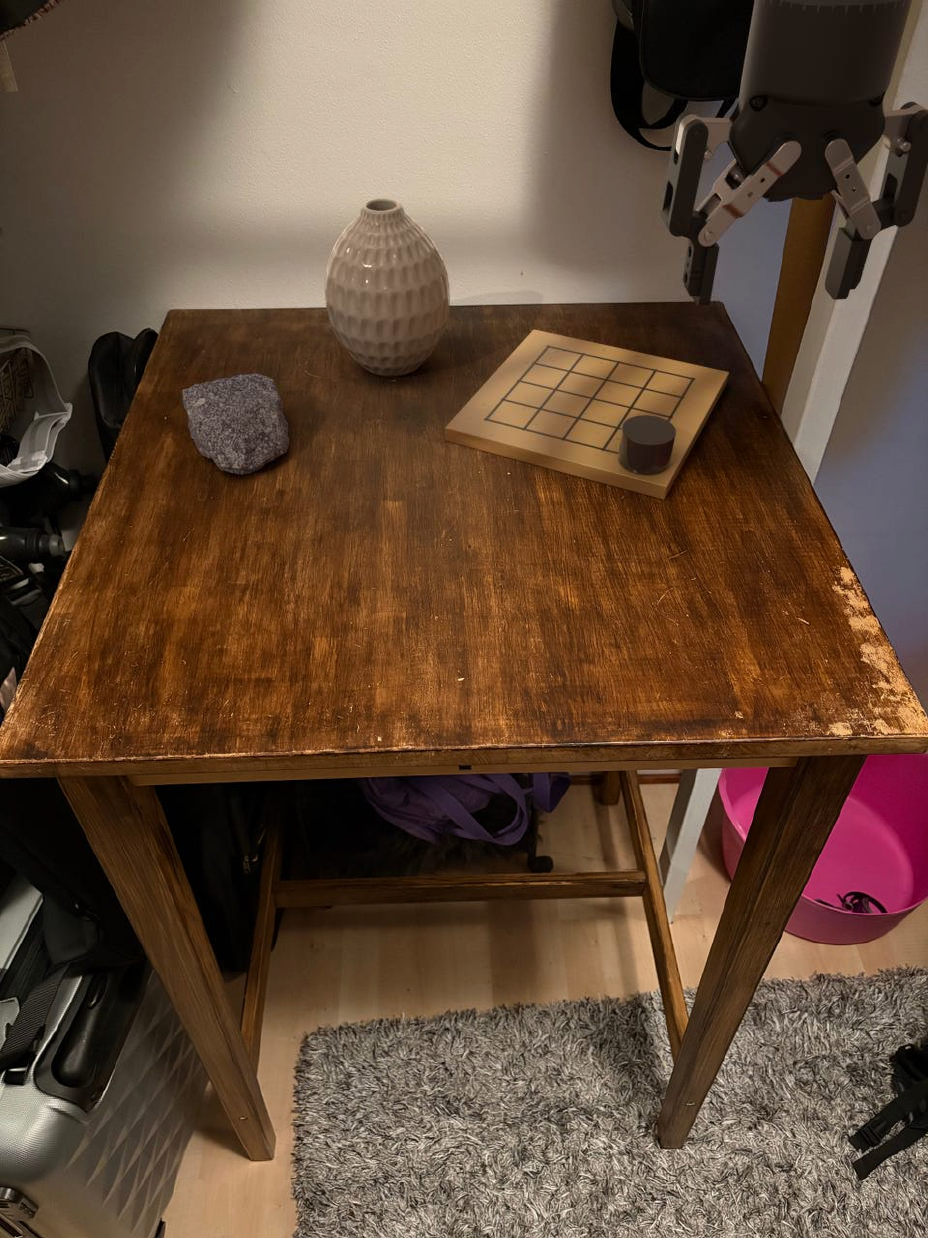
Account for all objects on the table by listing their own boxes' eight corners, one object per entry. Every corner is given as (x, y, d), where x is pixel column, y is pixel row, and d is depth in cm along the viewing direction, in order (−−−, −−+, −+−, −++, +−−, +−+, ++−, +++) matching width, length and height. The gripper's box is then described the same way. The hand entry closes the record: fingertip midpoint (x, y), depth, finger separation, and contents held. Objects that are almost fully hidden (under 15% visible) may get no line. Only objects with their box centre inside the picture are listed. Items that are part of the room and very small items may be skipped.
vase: (469, 378, 96) (469, 218, 84) (353, 403, 93) (337, 240, 81) (426, 326, 105) (420, 173, 93) (318, 347, 101) (299, 191, 89)
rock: (163, 390, 86) (258, 350, 89) (181, 434, 90) (271, 394, 93) (214, 455, 80) (313, 409, 83) (230, 499, 84) (325, 454, 87)
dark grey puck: (677, 452, 83) (682, 422, 81) (661, 480, 80) (667, 449, 78) (627, 439, 85) (631, 410, 83) (610, 466, 82) (614, 436, 80)
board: (726, 384, 95) (729, 371, 94) (664, 500, 81) (667, 485, 80) (533, 341, 102) (533, 328, 101) (444, 440, 88) (444, 426, 87)
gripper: (712, 3, 42) (667, 330, 53) (1013, -9, 43) (905, 319, 54) (676, -26, 48) (641, 277, 59) (943, -36, 48) (858, 267, 59)
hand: (767, 297), depth 56 cm, fingers open, 8 cm apart
